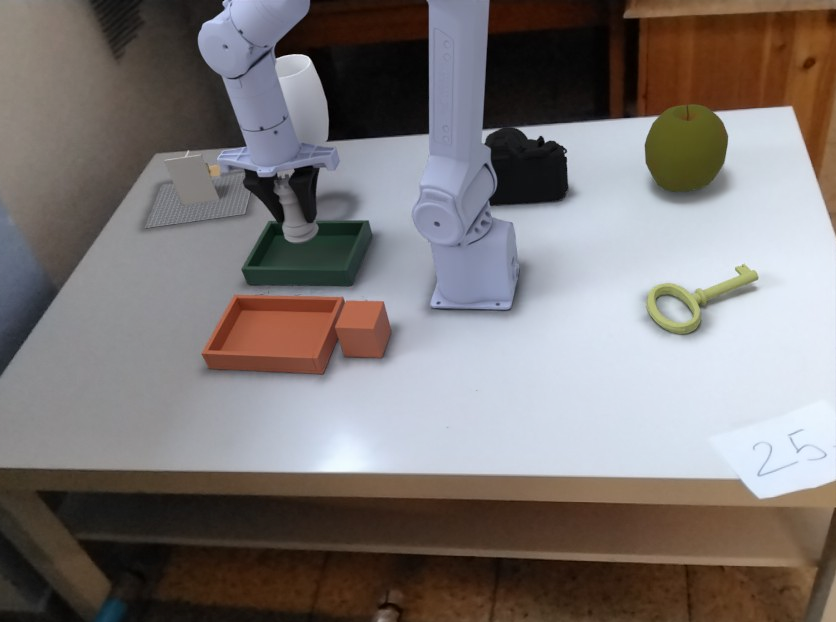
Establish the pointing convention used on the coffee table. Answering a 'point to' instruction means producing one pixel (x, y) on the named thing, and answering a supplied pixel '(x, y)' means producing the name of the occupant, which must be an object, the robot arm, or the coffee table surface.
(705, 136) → the apple
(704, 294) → the key
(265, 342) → the terracotta tray
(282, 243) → the green tray
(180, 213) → the architectural model
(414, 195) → the coffee table surface
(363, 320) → the terracotta block
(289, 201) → the rook chess piece
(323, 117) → the cup
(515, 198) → the film camera
